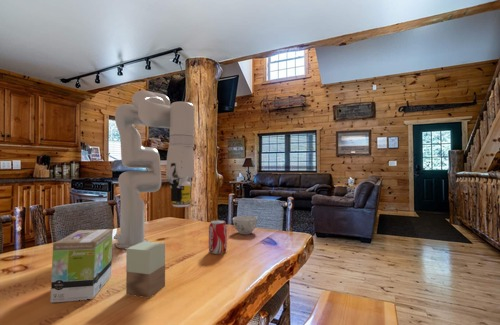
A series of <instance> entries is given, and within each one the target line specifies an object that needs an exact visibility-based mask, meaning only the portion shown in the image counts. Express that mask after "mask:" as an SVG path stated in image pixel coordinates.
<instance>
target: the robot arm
mask: <svg viewBox="0 0 500 325" xmlns="http://www.w3.org/2000/svg"><path fill="white" fill-rule="evenodd" d="M131 103H132V104H131ZM131 103H130V104H129V103H123V104H119V105H118V106H117V107H116V108H115V112H114V120H115V125H116V128H117V131H118V133H119V134H118V135H119V139H120V158H121V164H122V166H123V167H125V168H127V169H128V168H130V169H146V170H127V171H124V172H122V173H121V174H119V177H118V178H117V180H118V189H119V198H120V221H119V222H120V227H119V228H120V230H119V231H120V233H115V235H114V236H113V240H117V242H116V243H115V246H116V248H118V249H122V250H123V249H124V250H127V248H129V247H131V246H134V245H136V244H139V243H141V242H143V241H145V242H149V240H148V239H147V238H145V231H146V230H145V225H146V224H145V221H146V220H145V212H146V211H145V210H146V209H145V208H146V207H145V206H146V205H145V201H144V199H143V198H142V196H141V195H140V194H142V193H155V192H157V191H159V190H160V189H161V187H162V168H161V165H162V164H161V158H160V157H161V156H160V153H159V151H158V149H157V148H155V147H151V146H143V144H142V143H143V142H142V136H141V134H140V131H139V130H138V129H137V128H136V127H135V126H142V127H143V126H144V127H151V128H152V127H153V128H161V129H162V128H163V129H169V144H168V147H167V148H168V149H167V154H166V166H165V167H166V168H165V169H166V170H165V175H166V176H165V177H166V179H167V180H168V184H169V185H170V186H169V188H170V201H171V202H172V201H175V202H180V201H181V197H182V188H180V186H181V180H182V178H186V177H187V176H188V182H190V185H191V187H190V200H191V199H192V186H193V185H192V184H193V183H192V182H193V179H194V177H195V155H194V154H195V153H194V148H195V106H194V105H193V103H191V102H187V101H174V102H172V103H171V101H170V98H169V97H168V96H167V95H166V94H163V93H159V92H154V91H150V90H144V89H143V90H138V91H136V92H135V93H133V94H132V97H131ZM175 176H178V177H179V178H178V177H175ZM176 180H178V182H177V181H176Z"/></svg>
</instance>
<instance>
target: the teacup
mask: <svg viewBox="0 0 500 325" xmlns="http://www.w3.org/2000/svg"><path fill="white" fill-rule="evenodd" d="M232 223H233V226H234V228H235V230H236V231H237V232H238V233H239V234H240V235H250V234H251V233H252V232H253V231H254V230H255V229H256V227H257V224H258V216H256V215H239V216H234V217H232Z"/></svg>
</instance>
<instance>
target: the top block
mask: <svg viewBox="0 0 500 325" xmlns="http://www.w3.org/2000/svg"><path fill="white" fill-rule="evenodd" d="M125 255H126V258H125V259H126V263H125V264H126V265H125V266H126V269H125V270H126V271H125V273H126V272H134V273H142V274H151V273H152V272H154V271H156V270H157V269H159V268H161V267H162V266H164V265H165V266H166V242H165V243H164V242H157V241H156V242H155V241H154V242H153V241H148V242H145V241H143V242H141V243H139V244H136V245H134V246H131V247H129V248H127V249H126V254H125Z"/></svg>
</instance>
